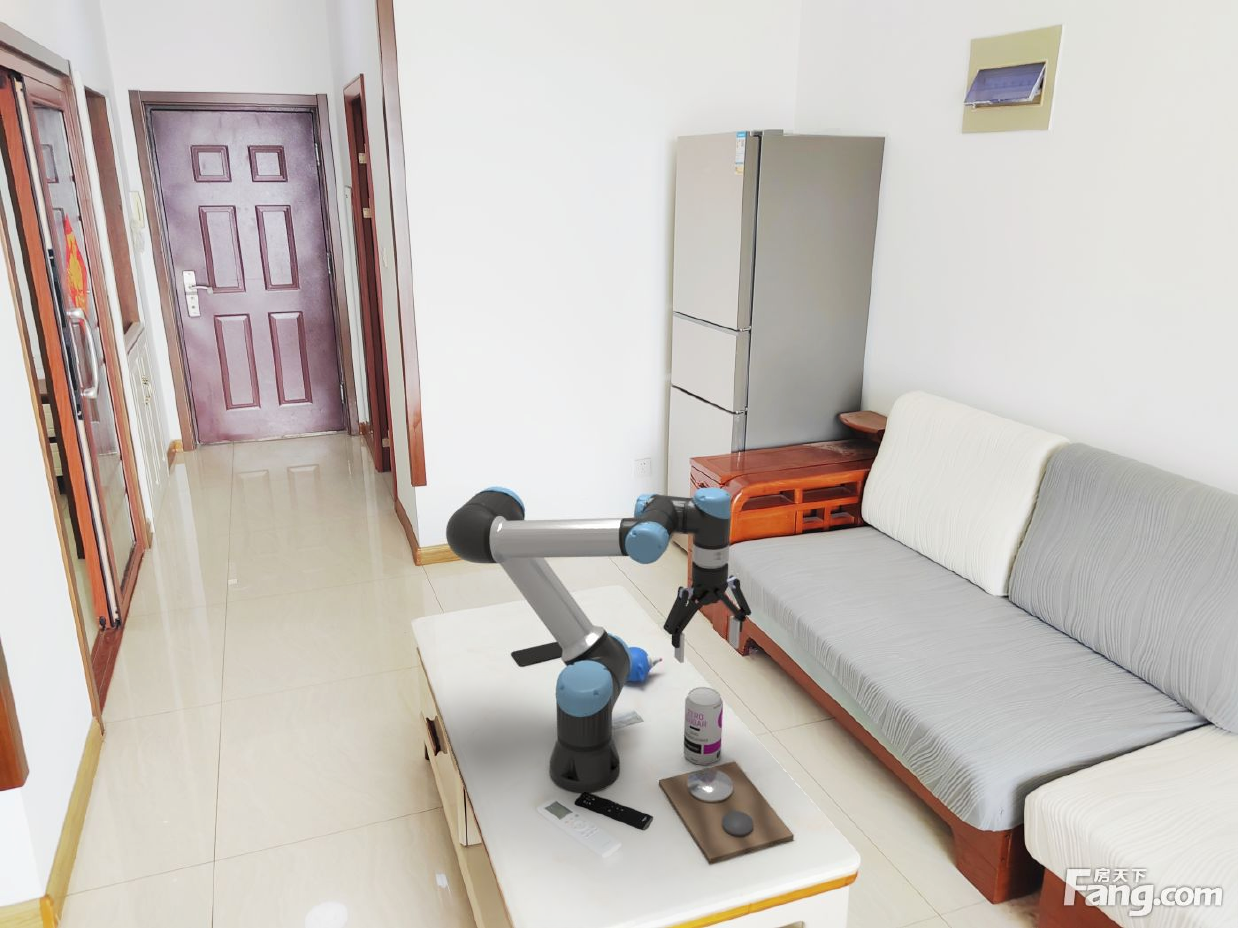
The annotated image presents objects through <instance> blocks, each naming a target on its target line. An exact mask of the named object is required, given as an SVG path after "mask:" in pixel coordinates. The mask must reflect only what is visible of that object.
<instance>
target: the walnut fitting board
mask: <svg viewBox="0 0 1238 928" xmlns="http://www.w3.org/2000/svg"><path fill="white" fill-rule="evenodd" d="M703 769H713V770H718V771H721V772H723V773H725V774H726V775H728V776H729V777H730V778H731V780H732V782H733V793H732V795H731V797H730V798H728V799H727V800H725V801H723V802H720V803H705V802H701V801H699V800H697V799H695V798H694V797H692V796H691V795H690V793H689V792H688V789H687V781H688V778H689V776H690V775H691V774H693V773H694V772H696V771H699V770H703ZM658 786H659V788H660V790H661V791H662V793H664V796H666V799H667V800H668V802H669V803H670V805H671V806H672V808H673V810H674V811H675V812H676V815H677V816H678V817H679V819H680V820H681V822H682V824H683V825H684V827H685V829H686V830H687V832H688V833H689V835H690V836H691V837H692V839H693V841H694V842H695V844H696V846H697V847H698V849H699V850H700V852H701V853H702V855H703V856H704V859H705V860H706V861H707V863H708V864H709V865H712V864H715V863H718V862H722V861H725V860H729V859H732V858H735V857H738V856H739V857H740V856H743V855H746V854H750V853H753V852H757V851H760V850H763V849H764V850H765V849H768V848H771V847H774V846H778V845H781V844H784V843H788V842H791V841H794V838H795V837H794V835H795V834H794V833H793V832H792V831H791V829H790V828H789V827H788V826H787V824H785V822H784V821H783V819H782V818H781V816H779V815H778V813H777V812H776V811H775V810H774V808H773V807H772V806H771V804H770V803H769V802H768V801H767V799H765V797H764V795H762V793H761V792H760V790H759V789H758V788H757V787H756V786H755V784H754V783H753V782H752V780H751V779H750V778H749V777H748V776H747V775H746V773H745V772H744V771H743V770H742V768H741V766H739V765H738V763H737V762H736V761H735V760H734V761H730V762H726V763H723V764H722V763H721V764H719V765H714V766H710V767H706V768H702V769H697V770H694V771H690V772H686V773H682V774H677V775H674V776H670V777H665V778H661V779H658ZM732 811H740V812H743V813H746V814H747V815H749V816H750V817H751V818H752V820H753V830H752V832H751V833H750V834H749V835H747V836H743V837H736V836H732V835H730V834H728V833H726V832H725V831H724V829H723V827H722V818H723V816H724V815H725V814H727V813H728V812H732Z"/></svg>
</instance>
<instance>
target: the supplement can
mask: <svg viewBox="0 0 1238 928" xmlns="http://www.w3.org/2000/svg"><path fill="white" fill-rule="evenodd" d="M684 700H685V701H684V723H683V724H684V730H683V732H684V733H683V755H684V756H685V758H687V759H688V760H689V761H690V762H692V763H694V764H696V765H703V766H704V765H710V764H713V763H715V762H716V761H718V760H719V758H720V757H721V755H722V737H723V736H722V735H723V734H722V732H723V713H724V712H723V711H724V710H723V709H724V701H723V699H722V697H721V694H720V693H719V692H718V691H717V689H715V688H712V687H707V686H703V687H702V686H698V687H694V688H692V689H691V690H689V692H688V695H686V697H685V699H684Z"/></svg>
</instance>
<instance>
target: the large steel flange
mask: <svg viewBox="0 0 1238 928" xmlns="http://www.w3.org/2000/svg"><path fill="white" fill-rule="evenodd" d="M702 769H703V770H701V769H698V770H699V771H697V770H695V771H696V772H694V773H693V774H691V775H690V776H689V778H688V781H687V789H688V792H689V793H690V795H691V796H692V797H694V798H695V799H697V800H699V801H701V802H705V803H720V802H723V801H725V800H727V799H728V798H730V797H731V795H732V793H733V782H732V780H731V778H730V777H729V776H728V775H726V774H725V773H723V772H721V771H718V770H713V769H705V768H702Z"/></svg>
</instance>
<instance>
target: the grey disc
mask: <svg viewBox="0 0 1238 928" xmlns="http://www.w3.org/2000/svg"><path fill="white" fill-rule="evenodd" d="M722 827H723V829H724V831H725V832H726V833H728V834H730V835H732V836H736V837H743V836H747V835H749V834H750V833H751V832H752V830H753V820H752V818H751V817H750V816H749V815H747V814H746V813H743V812H740V811H732V812H728V813H727V814H725V815H724V816H723V818H722Z"/></svg>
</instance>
